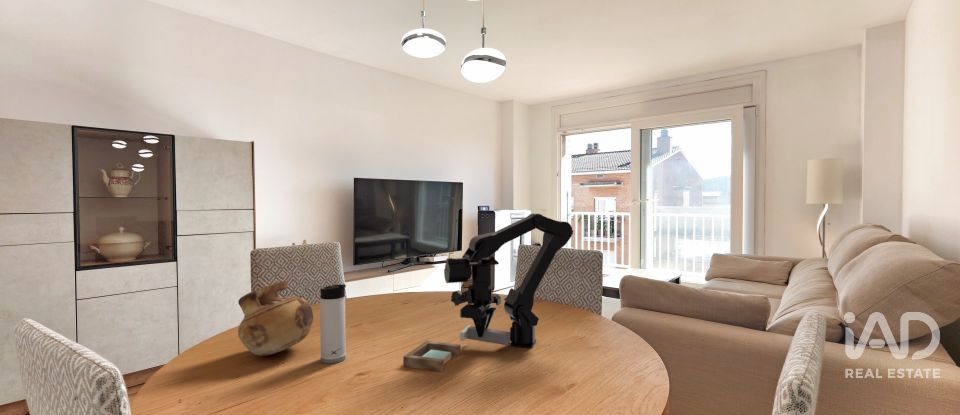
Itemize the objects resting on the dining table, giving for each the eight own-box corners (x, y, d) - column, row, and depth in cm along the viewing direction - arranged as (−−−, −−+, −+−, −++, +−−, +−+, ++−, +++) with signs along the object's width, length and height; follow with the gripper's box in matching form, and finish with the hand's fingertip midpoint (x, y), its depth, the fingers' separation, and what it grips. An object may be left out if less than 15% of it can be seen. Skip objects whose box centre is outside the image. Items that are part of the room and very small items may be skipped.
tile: (451, 359, 114) (451, 352, 114) (441, 367, 109) (441, 359, 109) (431, 356, 116) (431, 349, 116) (420, 364, 111) (420, 357, 111)
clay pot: (271, 340, 130) (270, 274, 130) (327, 344, 126) (326, 276, 126) (221, 363, 111) (220, 287, 111) (284, 369, 107) (284, 289, 107)
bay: (460, 353, 117) (460, 344, 117) (441, 371, 105) (441, 361, 105) (426, 349, 121) (426, 340, 121) (403, 366, 109) (403, 356, 109)
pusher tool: (512, 340, 122) (512, 329, 122) (505, 348, 115) (506, 337, 115) (468, 333, 126) (469, 323, 126) (460, 340, 120) (460, 329, 120)
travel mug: (339, 364, 110) (338, 287, 110) (315, 362, 111) (315, 286, 111) (351, 356, 116) (350, 282, 116) (329, 354, 117) (328, 281, 117)
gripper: (466, 274, 132) (467, 324, 133) (441, 285, 115) (442, 343, 115) (501, 275, 129) (501, 327, 129) (481, 287, 111) (481, 347, 111)
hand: (481, 335), depth 121 cm, fingers closed on pusher tool, 2 cm apart
